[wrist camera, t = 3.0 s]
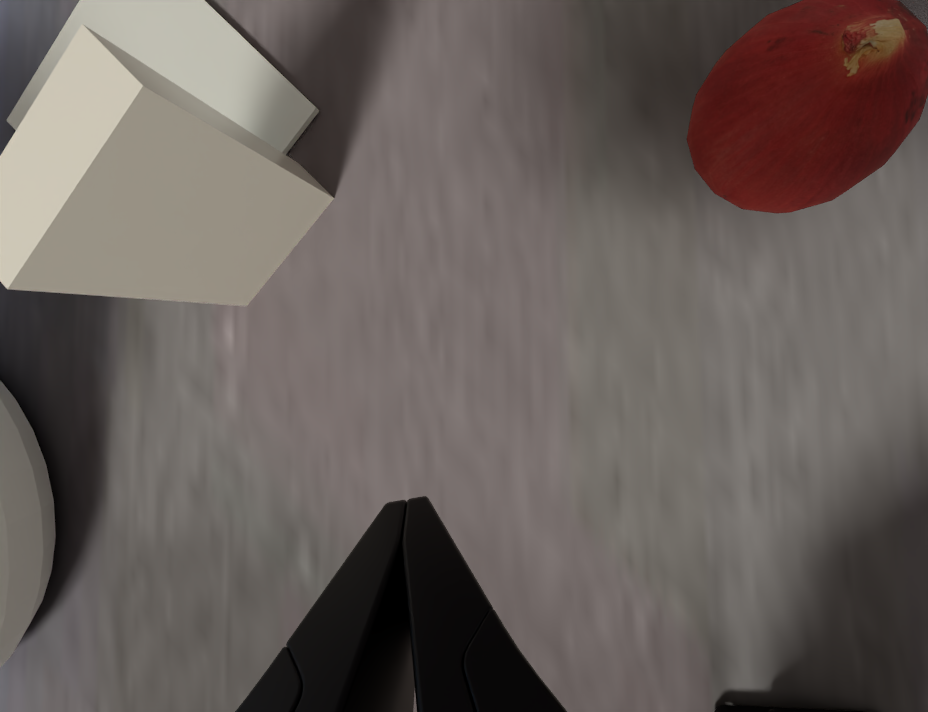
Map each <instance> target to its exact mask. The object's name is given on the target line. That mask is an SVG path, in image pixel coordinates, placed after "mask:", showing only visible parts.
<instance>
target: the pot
mask: <svg viewBox="0 0 928 712" xmlns="http://www.w3.org/2000/svg"><path fill="white" fill-rule="evenodd" d="M55 538H56V533H55V514H54V499H53V494H52V490H51V485H50V480H49V476H48V471H47V466H46V463H45V460H44V457H43V455H42V452H41V450H40V447H39V444H38V442H37V439H36V436H35V434H34V431H33V429H32V427H31V425H30V424H29V422H28V420H27V418H26V417H25V415H24V413H23V411H22V410H21V408H20V406H19V404H18V403H17V401H16V399H15V398H14V397H13V395H12V394H11V393H10V392H9V390H8V389H7V388H6V387H5V385H4V384H3V383H2V382H1V381H0V668H1V667H2V665H3V664H4V663H5V662H6V661H7V660H8V659H9V658H10V657H11V655H12V654H13V653H14V651H15V649H16V647H17V646H18V644H19V642H20V640H21V639H22V637H23V635H24V633H25V632H26V630H27V628H28V626H29V625H30V623H31V621H32V619H33V617H34V615H35V614H36V612H37V610H38V608H39V606H40V604H41V603H42V601H43V598H44V594H45V591H46V588H47V584H48V581H49V578H50V574H51V571H52V564H53V555H54V546H55Z"/></svg>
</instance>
